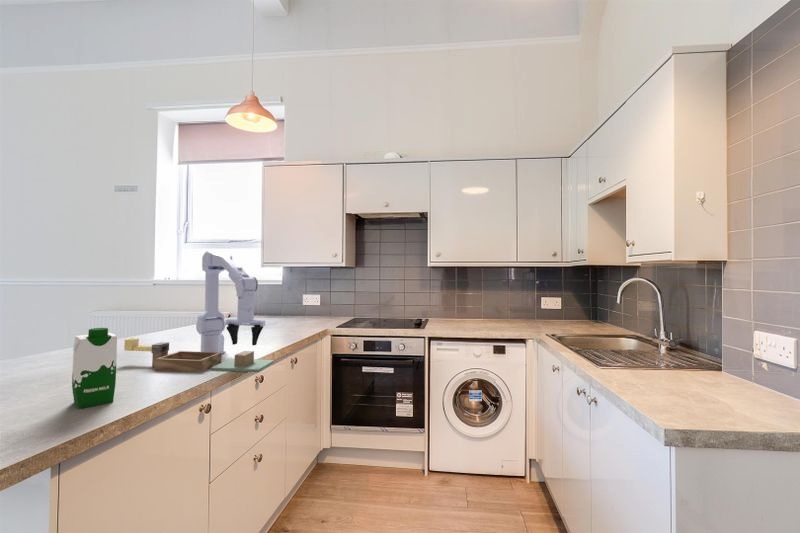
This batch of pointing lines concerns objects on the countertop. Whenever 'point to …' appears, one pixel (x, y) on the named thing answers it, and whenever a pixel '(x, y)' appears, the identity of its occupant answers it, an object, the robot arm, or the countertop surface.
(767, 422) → the countertop surface
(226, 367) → the lid
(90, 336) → the milk carton
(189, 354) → the wooden box
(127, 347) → the wooden block
